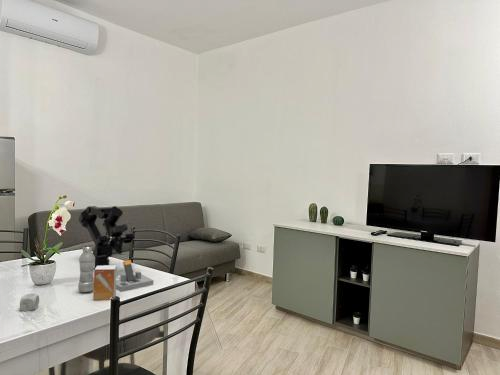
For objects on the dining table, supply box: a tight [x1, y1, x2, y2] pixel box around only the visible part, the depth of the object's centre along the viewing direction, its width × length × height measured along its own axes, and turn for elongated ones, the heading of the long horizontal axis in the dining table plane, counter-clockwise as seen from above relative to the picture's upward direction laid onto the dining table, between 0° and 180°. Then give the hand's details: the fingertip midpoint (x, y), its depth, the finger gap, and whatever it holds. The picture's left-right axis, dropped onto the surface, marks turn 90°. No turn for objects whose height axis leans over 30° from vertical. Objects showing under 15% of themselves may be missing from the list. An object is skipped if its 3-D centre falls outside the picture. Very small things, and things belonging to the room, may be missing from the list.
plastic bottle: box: [77, 245, 95, 293], centre depth 151 cm, size 6×7×20 cm
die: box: [19, 293, 40, 312], centre depth 131 cm, size 5×5×5 cm
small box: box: [92, 264, 118, 301], centre depth 146 cm, size 8×6×13 cm
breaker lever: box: [122, 259, 136, 283], centre depth 165 cm, size 2×4×10 cm
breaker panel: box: [116, 270, 154, 293], centre depth 164 cm, size 14×16×5 cm
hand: (120, 253), depth 173 cm, fingers closed
